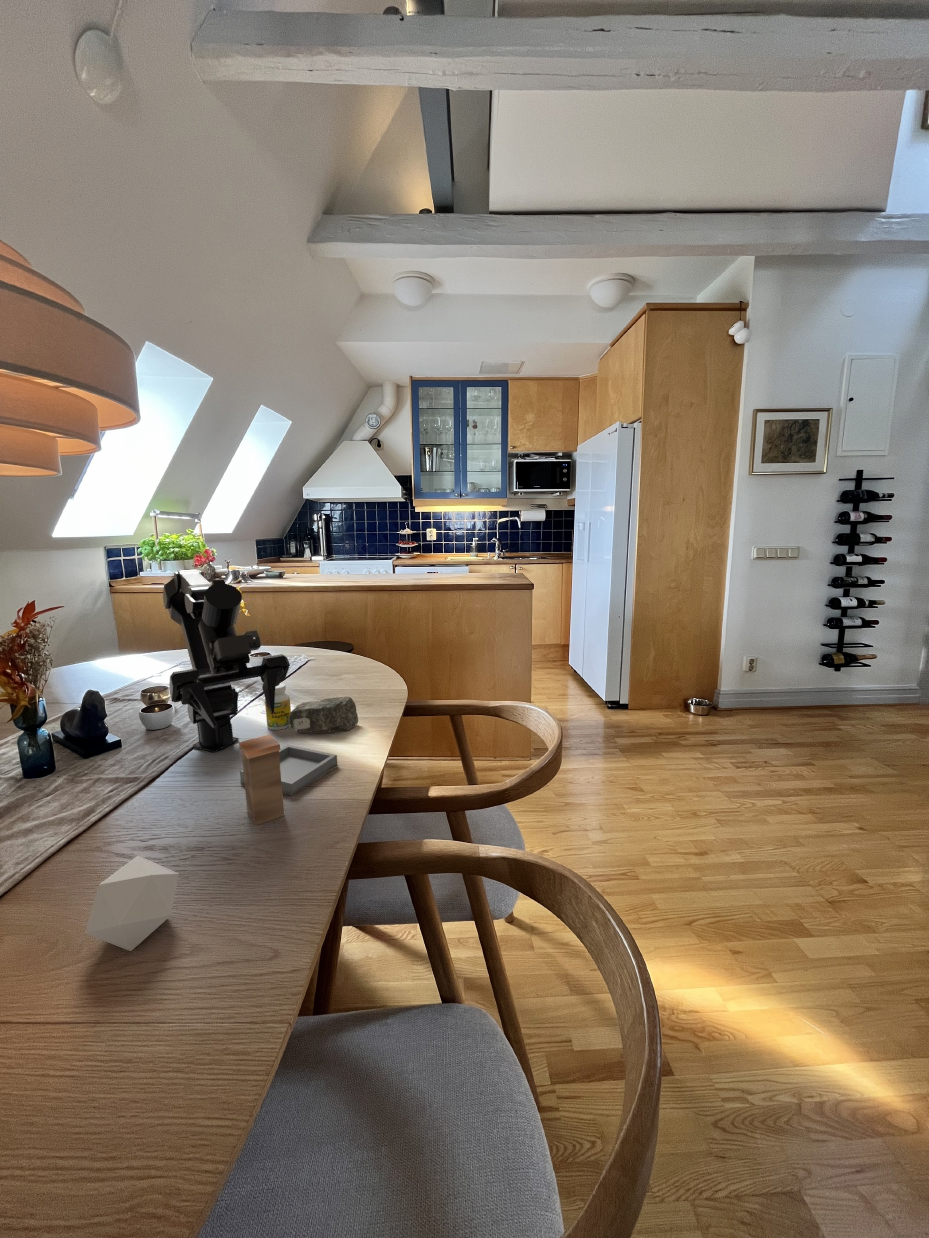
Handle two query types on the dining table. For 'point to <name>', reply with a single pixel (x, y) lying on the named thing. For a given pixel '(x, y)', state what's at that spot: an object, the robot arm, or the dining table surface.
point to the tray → (301, 767)
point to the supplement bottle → (279, 709)
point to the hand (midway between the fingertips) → (244, 719)
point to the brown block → (262, 778)
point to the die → (132, 903)
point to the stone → (324, 715)
